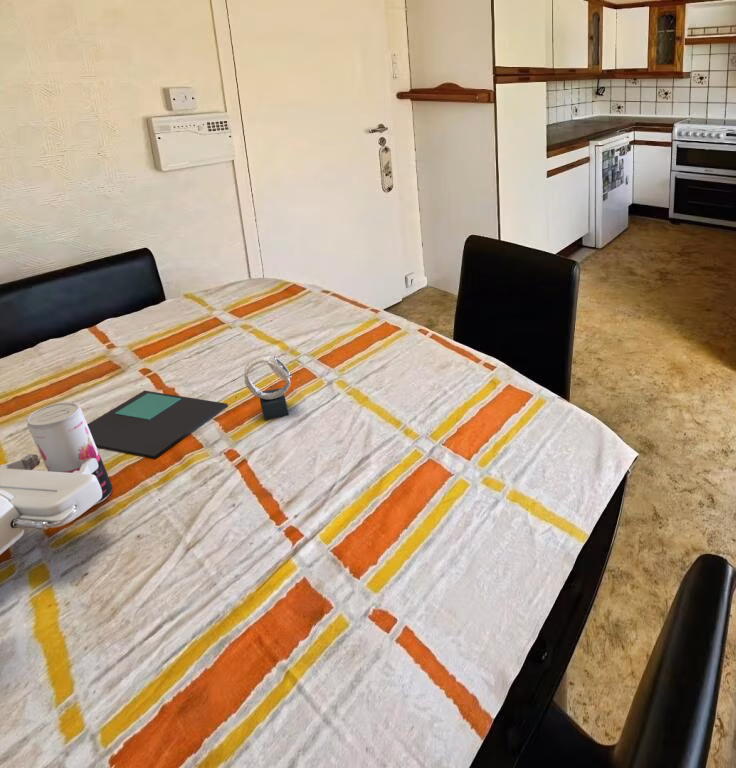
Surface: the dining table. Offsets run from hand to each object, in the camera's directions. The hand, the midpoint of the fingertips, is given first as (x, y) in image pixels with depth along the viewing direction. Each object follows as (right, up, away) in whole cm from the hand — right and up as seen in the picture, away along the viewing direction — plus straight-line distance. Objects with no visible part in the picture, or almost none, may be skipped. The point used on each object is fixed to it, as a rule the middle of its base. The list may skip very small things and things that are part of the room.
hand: (63, 459), depth 91 cm
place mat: (-1, +4, +24) cm, 24 cm away
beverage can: (0, -7, +5) cm, 8 cm away
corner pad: (-4, +6, +28) cm, 29 cm away
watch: (+21, +6, +27) cm, 34 cm away
